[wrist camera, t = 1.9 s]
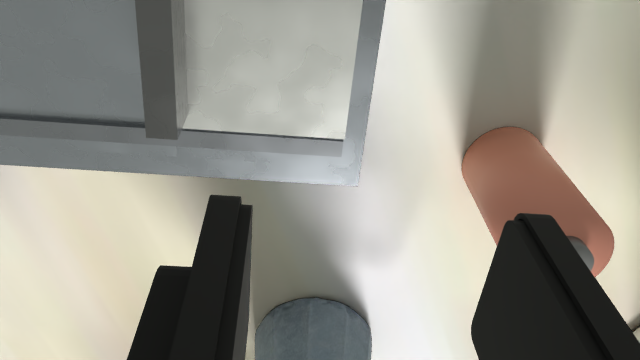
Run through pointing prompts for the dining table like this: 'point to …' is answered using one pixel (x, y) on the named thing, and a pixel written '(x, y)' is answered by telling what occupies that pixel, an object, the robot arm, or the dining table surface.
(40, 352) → the dining table surface
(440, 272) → the dining table surface
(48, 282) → the dining table surface
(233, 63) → the guard cover
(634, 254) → the dining table surface
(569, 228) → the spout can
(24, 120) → the grey metal box
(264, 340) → the moka pot
